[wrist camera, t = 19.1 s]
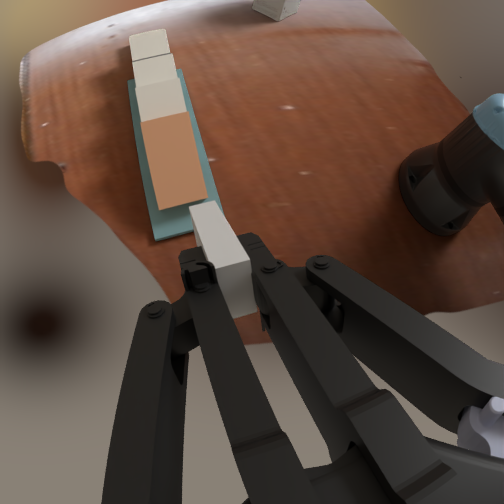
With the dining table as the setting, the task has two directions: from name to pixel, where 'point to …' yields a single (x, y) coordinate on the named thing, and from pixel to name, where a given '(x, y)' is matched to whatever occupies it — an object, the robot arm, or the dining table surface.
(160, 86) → the domino
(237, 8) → the dining table surface
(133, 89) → the domino board
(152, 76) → the domino
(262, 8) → the supplement box
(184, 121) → the terracotta domino
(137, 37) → the domino
